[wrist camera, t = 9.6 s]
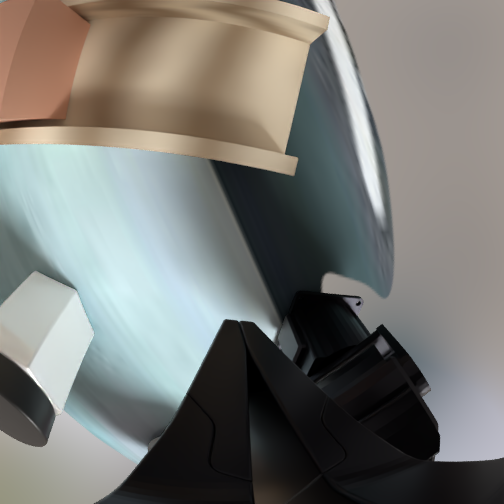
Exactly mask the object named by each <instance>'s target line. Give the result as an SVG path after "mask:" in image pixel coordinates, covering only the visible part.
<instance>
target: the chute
mask: <svg viewBox="0 0 504 504" xmlns="http://www.w3.org/2000/svg"><path fill="white" fill-rule="evenodd" d="M60 1H61V2H63V3H64V4H65V5H66V6H68V7H69V8H70V9H72V10H73V11H74V12H75V13H77V14H78V15H79V16H80V17H82V18H83V19H84V20H85V21H87V22H88V23H89V24H90V25H91V26H90V28H89V31H88V34H87V37H86V40H85V43H84V46H83V49H82V52H81V55H80V59H79V62H78V66H77V69H76V73H75V77H74V81H73V85H72V89H71V94H70V99H69V103H68V109H67V114H66V119H51V120H29V121H16V122H5V123H0V145H4V144H71V145H92V146H107V147H119V148H130V149H140V150H149V151H157V152H165V153H173V154H180V155H187V156H194V157H200V158H207V159H213V160H218V161H224V162H230V163H235V164H240V165H246V166H251V167H256V168H260V169H265V170H270V171H274V172H279V173H283V174H288V175H292V176H294V174H295V170H296V166H297V162H298V158H296V157H293V156H289V155H285V150H286V146H287V142H288V137H289V133H290V129H291V125H292V120H293V116H294V112H295V107H296V103H297V99H298V94H299V90H300V86H301V81H302V77H303V73H304V68H305V64H306V59H307V55H308V51H309V46H310V44H311V43H312V42H313V41H314V40H315V39H317V38H318V37H319V36H320V35H321V34H323V33H324V32H325V31H326V30H327V28H328V23H329V18H330V17H328V16H325V15H323V14H320V13H317V12H314V11H311V10H308V9H305V8H302V7H299V6H296V5H293V4H289V3H286V2H282V1H278V0H60Z"/></svg>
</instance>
